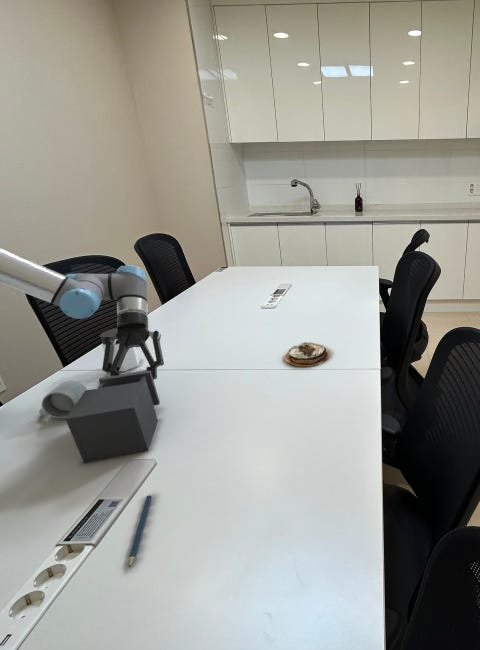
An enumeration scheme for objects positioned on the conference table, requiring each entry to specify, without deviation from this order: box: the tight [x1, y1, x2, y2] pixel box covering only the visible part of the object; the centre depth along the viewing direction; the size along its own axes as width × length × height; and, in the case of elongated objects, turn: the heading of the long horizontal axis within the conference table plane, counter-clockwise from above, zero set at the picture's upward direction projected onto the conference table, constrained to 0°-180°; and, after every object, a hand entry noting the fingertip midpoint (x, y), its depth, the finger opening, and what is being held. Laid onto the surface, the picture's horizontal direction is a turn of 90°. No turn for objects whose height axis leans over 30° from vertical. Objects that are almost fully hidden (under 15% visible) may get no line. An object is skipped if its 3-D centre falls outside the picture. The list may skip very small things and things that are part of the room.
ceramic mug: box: [38, 380, 88, 419], centre depth 102 cm, size 11×8×8 cm
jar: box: [99, 327, 141, 372], centre depth 124 cm, size 9×8×12 cm
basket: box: [97, 369, 161, 407], centre depth 99 cm, size 17×12×10 cm
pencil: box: [128, 494, 153, 568], centre depth 68 cm, size 1×1×15 cm
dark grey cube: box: [64, 381, 159, 464], centre depth 89 cm, size 12×13×12 cm
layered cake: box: [284, 341, 331, 367], centre depth 129 cm, size 15×15×4 cm
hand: (134, 393), depth 103 cm, fingers closed on basket, 7 cm apart
